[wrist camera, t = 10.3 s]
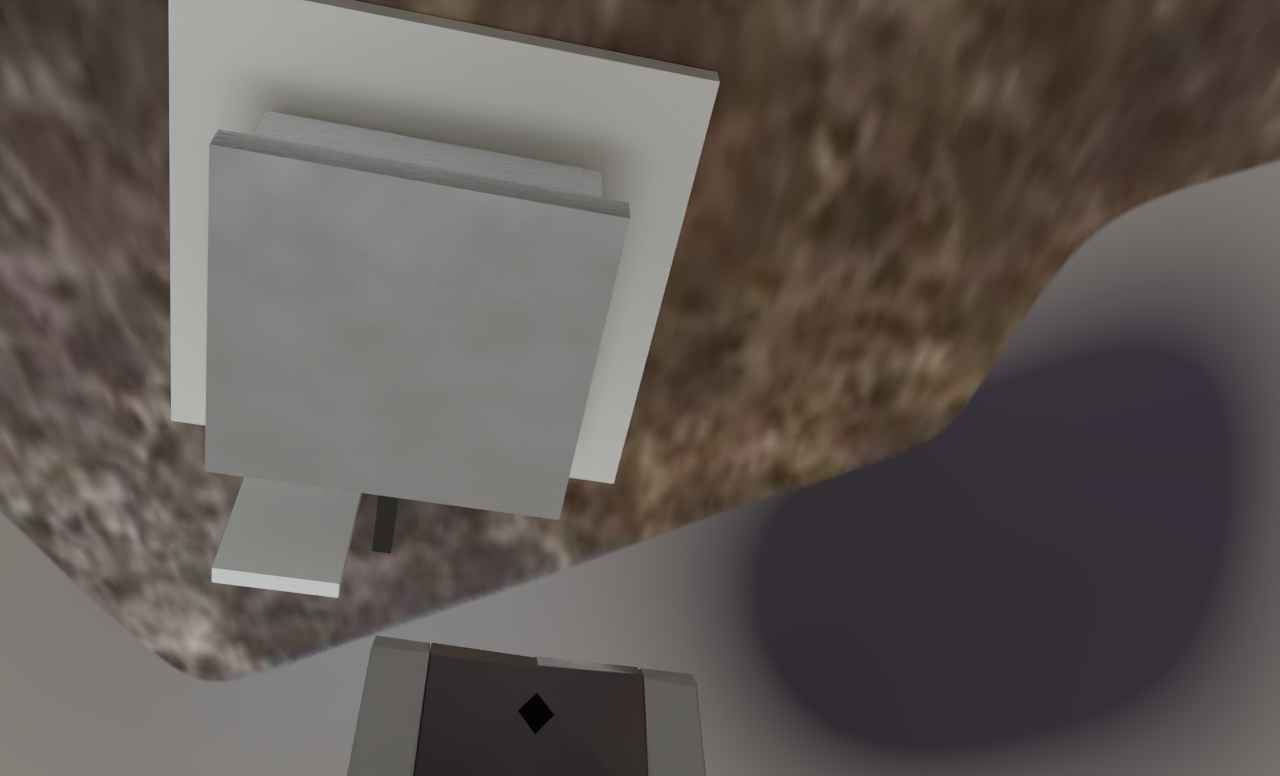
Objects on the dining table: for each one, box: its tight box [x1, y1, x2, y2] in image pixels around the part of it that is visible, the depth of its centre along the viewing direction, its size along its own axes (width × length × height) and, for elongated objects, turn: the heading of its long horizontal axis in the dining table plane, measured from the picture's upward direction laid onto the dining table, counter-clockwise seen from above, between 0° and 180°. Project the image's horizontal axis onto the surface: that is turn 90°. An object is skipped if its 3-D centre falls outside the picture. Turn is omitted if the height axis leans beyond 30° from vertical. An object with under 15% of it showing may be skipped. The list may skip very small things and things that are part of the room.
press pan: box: [205, 111, 630, 553], centre depth 48 cm, size 14×19×5 cm
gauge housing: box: [169, 0, 720, 598], centre depth 48 cm, size 20×22×9 cm
